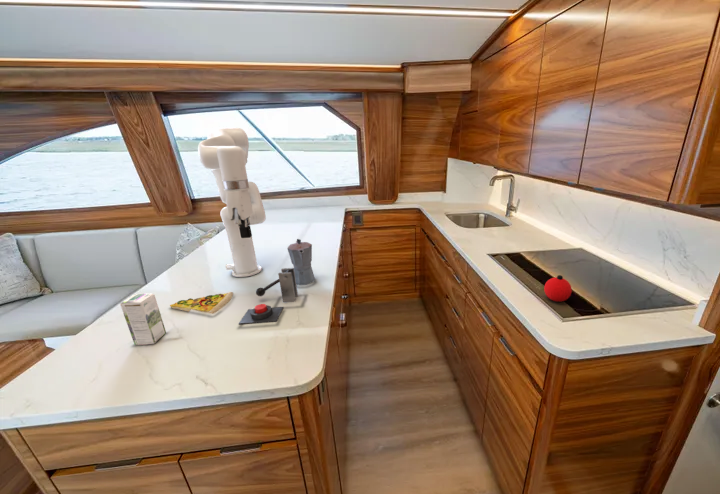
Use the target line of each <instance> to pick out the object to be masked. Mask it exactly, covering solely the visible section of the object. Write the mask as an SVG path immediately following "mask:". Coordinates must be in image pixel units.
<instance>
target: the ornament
mask: <svg viewBox="0 0 720 494" xmlns="http://www.w3.org/2000/svg"><path fill="white" fill-rule="evenodd" d="M543 287H544V288H543V291H544V294H545V296H546V297H547V298H548V299H549V300H551V301H553V302H557V303H558V302H559V303H560V302H561V303H562V302H565V301H567V300H568V299H569V298H570V297H571V296H572V292H573V289H572V285H571V284H570V282H569V281H568V280H567V279H565V278H564V275H561V274H559V275H556V276H555V277H551V278H550V279H547V281H546V282H545V284H544V286H543Z"/></svg>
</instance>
